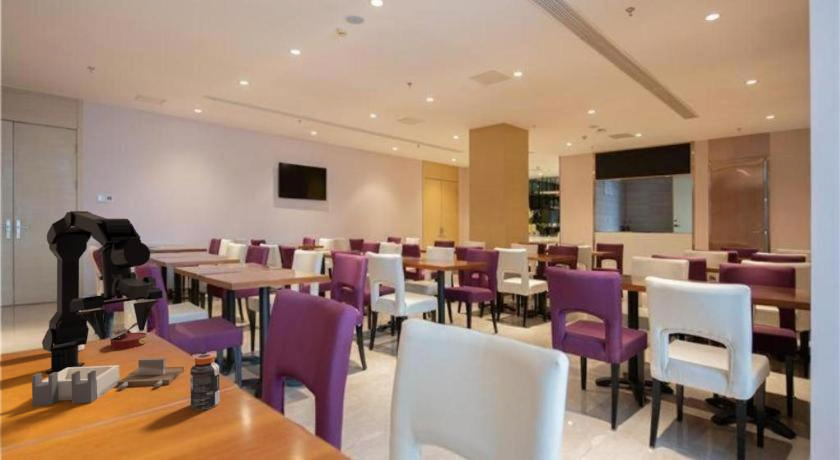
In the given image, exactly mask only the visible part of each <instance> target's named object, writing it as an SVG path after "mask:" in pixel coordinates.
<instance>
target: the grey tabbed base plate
mask: <svg viewBox="0 0 840 460" xmlns="http://www.w3.org/2000/svg"><path fill="white" fill-rule="evenodd" d="M137 364H138V365H137V366H138V368H136V369H134V370H133V371H132V372H130V373H128V374H127V375H125V376H124V377H123V378H121V379H119V381H118V384H117V388H118V390H119V391H124V389H126V388H127V387H141V386H153V388H154V389H159V387H161V386H163V385H166V386H167V385H170V384H171V383H172V382H173V381H174V380H176V379H177V378H178V377H179V376H180V375H181V374H182V373H183V372H184V371H185V366H167V357H165V356H164V357H148V358H147V357H146V358H145V357H144V358H140V359H138V363H137Z"/></svg>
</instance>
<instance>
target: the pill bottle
mask: <svg viewBox="0 0 840 460" xmlns="http://www.w3.org/2000/svg"><path fill="white" fill-rule="evenodd" d="M189 373H190V374H189V375H190V379H189V381H190V385H189V386H190V408H192V409H193V410H199V411H200V410H202V411H203V410H207V409H212V408H214V407H216V406H217V405H218V404H219V403H220V365H219V364H218V363H217V362H215V354H213V353H202V354H198V355H196V356H195V357H194V365H193V366H192V367H191V368H190V370H189Z"/></svg>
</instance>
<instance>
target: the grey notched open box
mask: <svg viewBox="0 0 840 460" xmlns="http://www.w3.org/2000/svg"><path fill="white" fill-rule="evenodd" d="M42 373H43V372H37V373H35V374H33V375H31V390H32V391H31V392H32V393H31V394H32V397H31V399H32V400H31V401H32V402H31V403H32V407H40V406H53V405H54V404H56V403H57V402H60V401H63V402H64V401H71V405H73V404H74V405H75V404H76V405H77V404H91V403H93V402H95V401H97V399H99V398H100V397H101V396H103V395H105V393H107V392H109V391H110V390H111V389H112V388H114V387H115V386H118V381H120V365H119V364H117V365H115V364H114V365H93V366H91V365H90V366H80V367H67V368H65V369H63V370H62V371H60V372H52V373H50V374H48V375H47V378H45V379H43V378H42V377H43V375H42Z"/></svg>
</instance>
